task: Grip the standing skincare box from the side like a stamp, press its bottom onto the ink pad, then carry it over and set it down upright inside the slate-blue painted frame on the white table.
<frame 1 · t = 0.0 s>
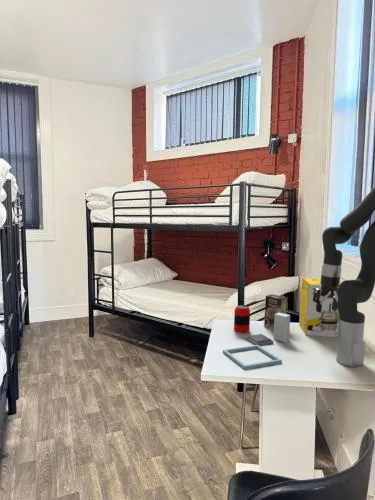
hand: (326, 311, 156), 17 cm above the table, tool pointing down, fingers open, 8 cm apart
ink pad: (259, 341, 166), on the table
skincare box: (281, 340, 169), on the table
packaging box: (318, 331, 183), on the table
soda can: (241, 330, 181), on the table
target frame: (251, 357, 148), on the table
coffee box: (274, 327, 187), on the table
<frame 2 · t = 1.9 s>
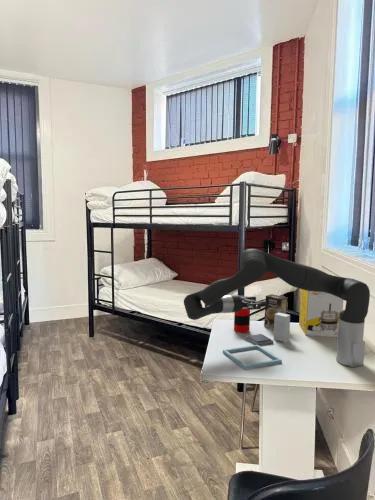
hand: (260, 301, 162), 19 cm above the table, tool horizontal, fingers open, 8 cm apart
nothing on the table moved.
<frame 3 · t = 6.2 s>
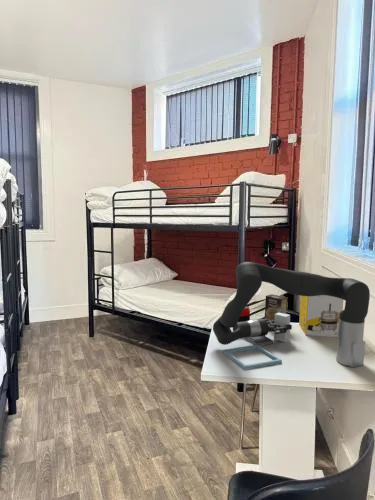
hand: (285, 324, 169), 7 cm above the table, tool horizontal, fingers closed on skincare box, 7 cm apart
skincare box: (281, 339, 169), on the table, touching gripper
everything else where it was.
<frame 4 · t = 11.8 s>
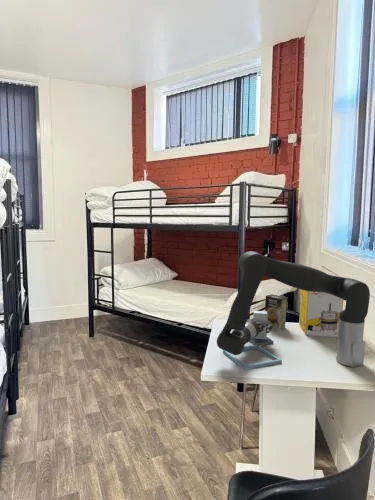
hand: (261, 321, 167), 9 cm above the table, tool horizontal, fingers closed on skincare box, 7 cm apart
skincare box: (259, 338, 166), point 2 cm above the table, touching gripper, ink pad
everything else where it was.
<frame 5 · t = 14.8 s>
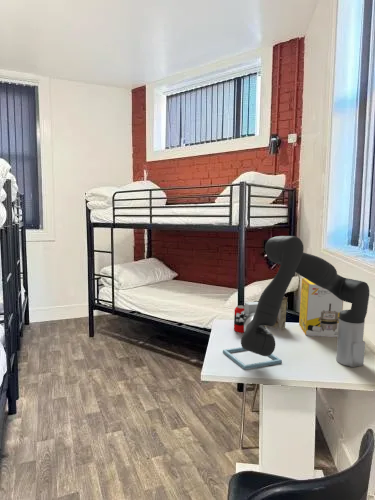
hand: (252, 313, 148), 18 cm above the table, tool horizontal, fingers closed on skincare box, 7 cm apart
skincare box: (252, 332, 147), point 10 cm above the table, touching gripper
everything else where it was.
when the fingers open (8 cm above the table, at t = 17.5 s): skincare box stays where it is, resting in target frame.
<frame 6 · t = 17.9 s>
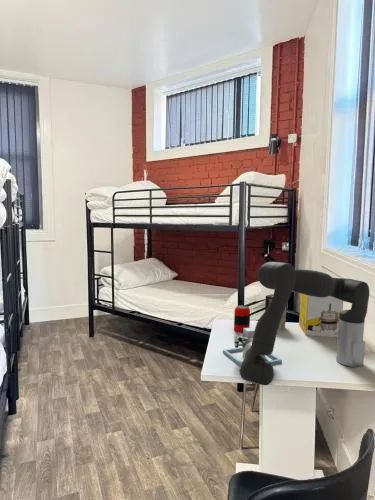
hand: (251, 336, 149), 8 cm above the table, tool horizontal, fingers open, 8 cm apart
skincare box: (251, 358, 148), resting in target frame
everything else where it was.
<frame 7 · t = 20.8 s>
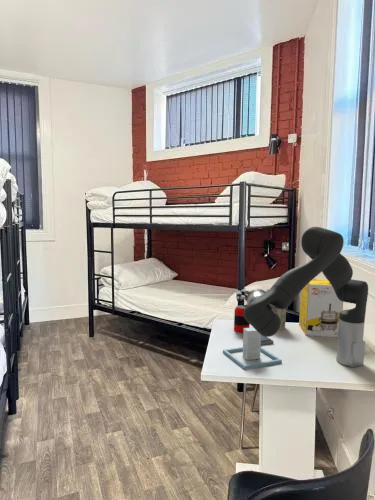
hand: (255, 291, 134), 30 cm above the table, tool horizontal, fingers open, 8 cm apart
nothing on the table moved.
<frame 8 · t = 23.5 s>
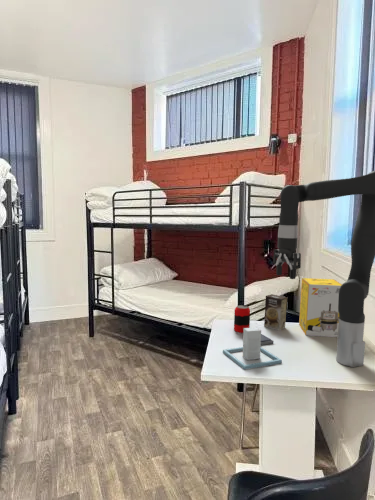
hand: (285, 276, 146), 33 cm above the table, tool pointing down, fingers open, 8 cm apart
nothing on the table moved.
at the end: skincare box 0.1 cm from the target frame (horizontally); skincare box tilted 0°; the gripper is holding nothing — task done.
